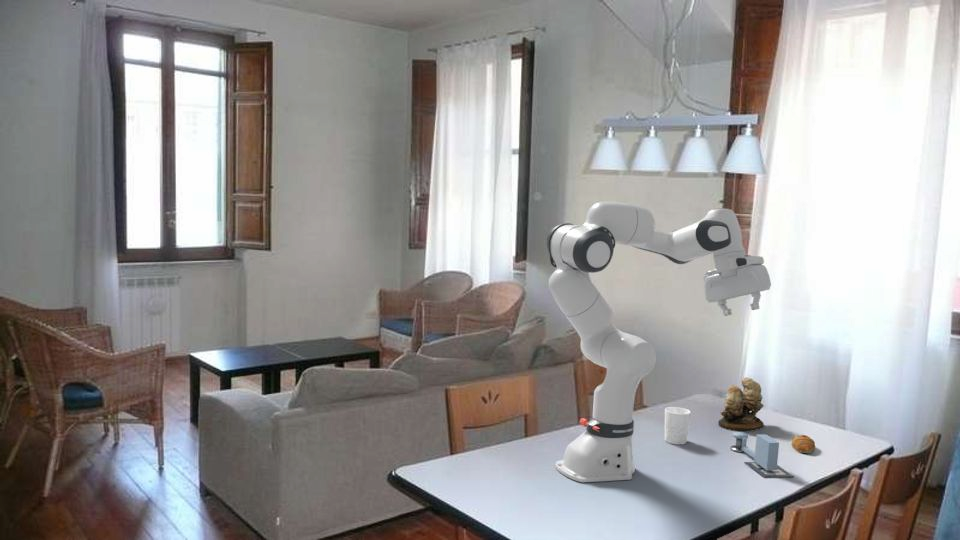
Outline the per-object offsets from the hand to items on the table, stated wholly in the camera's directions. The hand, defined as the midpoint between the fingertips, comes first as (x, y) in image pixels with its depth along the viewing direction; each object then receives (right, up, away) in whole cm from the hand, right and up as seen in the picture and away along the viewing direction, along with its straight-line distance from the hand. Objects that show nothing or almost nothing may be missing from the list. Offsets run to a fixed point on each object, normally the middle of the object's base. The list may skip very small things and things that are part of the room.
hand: (741, 312), depth 207 cm
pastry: (+28, -45, +24) cm, 58 cm away
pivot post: (+6, -44, +20) cm, 48 cm away
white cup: (-12, -42, +26) cm, 51 cm away
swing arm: (+8, -43, +12) cm, 46 cm away
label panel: (+9, -45, +4) cm, 46 cm away
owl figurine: (+16, -42, +46) cm, 64 cm away
